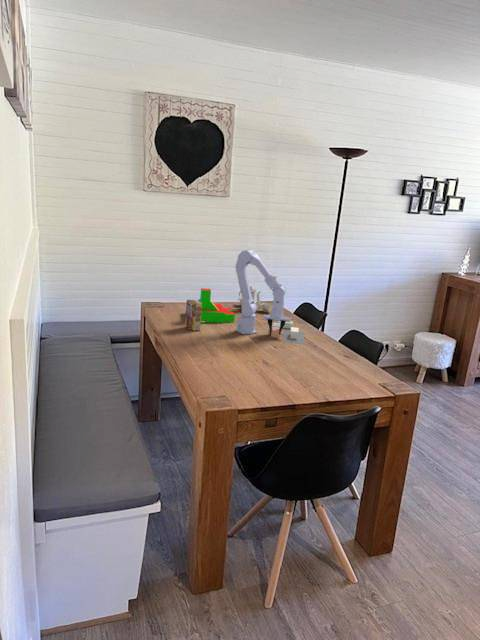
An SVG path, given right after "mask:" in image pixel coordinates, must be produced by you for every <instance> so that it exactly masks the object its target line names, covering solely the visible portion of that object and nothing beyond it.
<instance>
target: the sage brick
mask: <svg viewBox="0 0 480 640" xmlns="http://www.w3.org/2000/svg"><path fill="white" fill-rule="evenodd" d="M277 323H281V321H278V322H277ZM293 325H294V321H292V320H291V321H290V322H285V325H284V326H283V328H282V329H288V330H289V329H290V330H291V327H294V326H293Z"/></svg>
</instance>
